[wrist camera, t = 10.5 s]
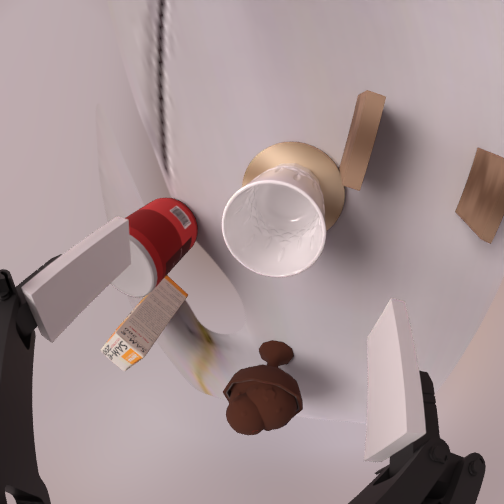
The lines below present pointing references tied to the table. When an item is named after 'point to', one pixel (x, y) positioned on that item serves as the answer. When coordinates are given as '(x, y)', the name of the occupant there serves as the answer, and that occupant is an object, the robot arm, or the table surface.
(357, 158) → the walnut cradle
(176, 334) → the table surface
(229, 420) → the ice cream bowl
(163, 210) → the canned food
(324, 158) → the cork coaster
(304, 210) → the white cup
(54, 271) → the robot arm
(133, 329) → the supplement box
